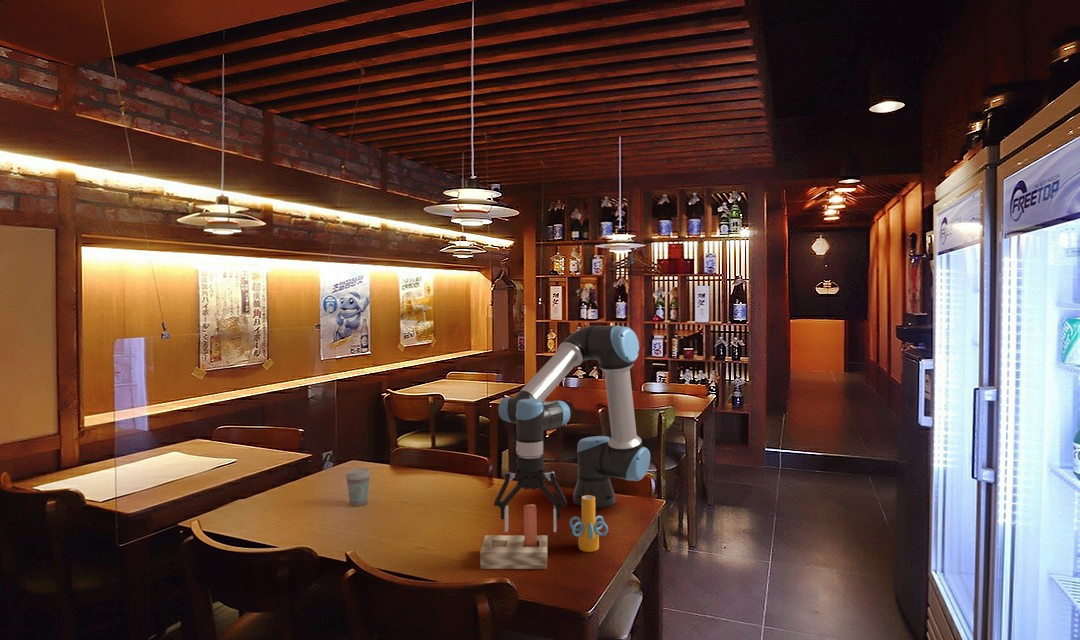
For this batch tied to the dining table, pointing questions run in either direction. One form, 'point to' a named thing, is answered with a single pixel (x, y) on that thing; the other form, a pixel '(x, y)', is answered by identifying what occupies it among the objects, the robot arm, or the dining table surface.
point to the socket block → (513, 553)
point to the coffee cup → (358, 486)
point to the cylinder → (588, 526)
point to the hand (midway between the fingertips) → (530, 530)
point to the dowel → (530, 525)
